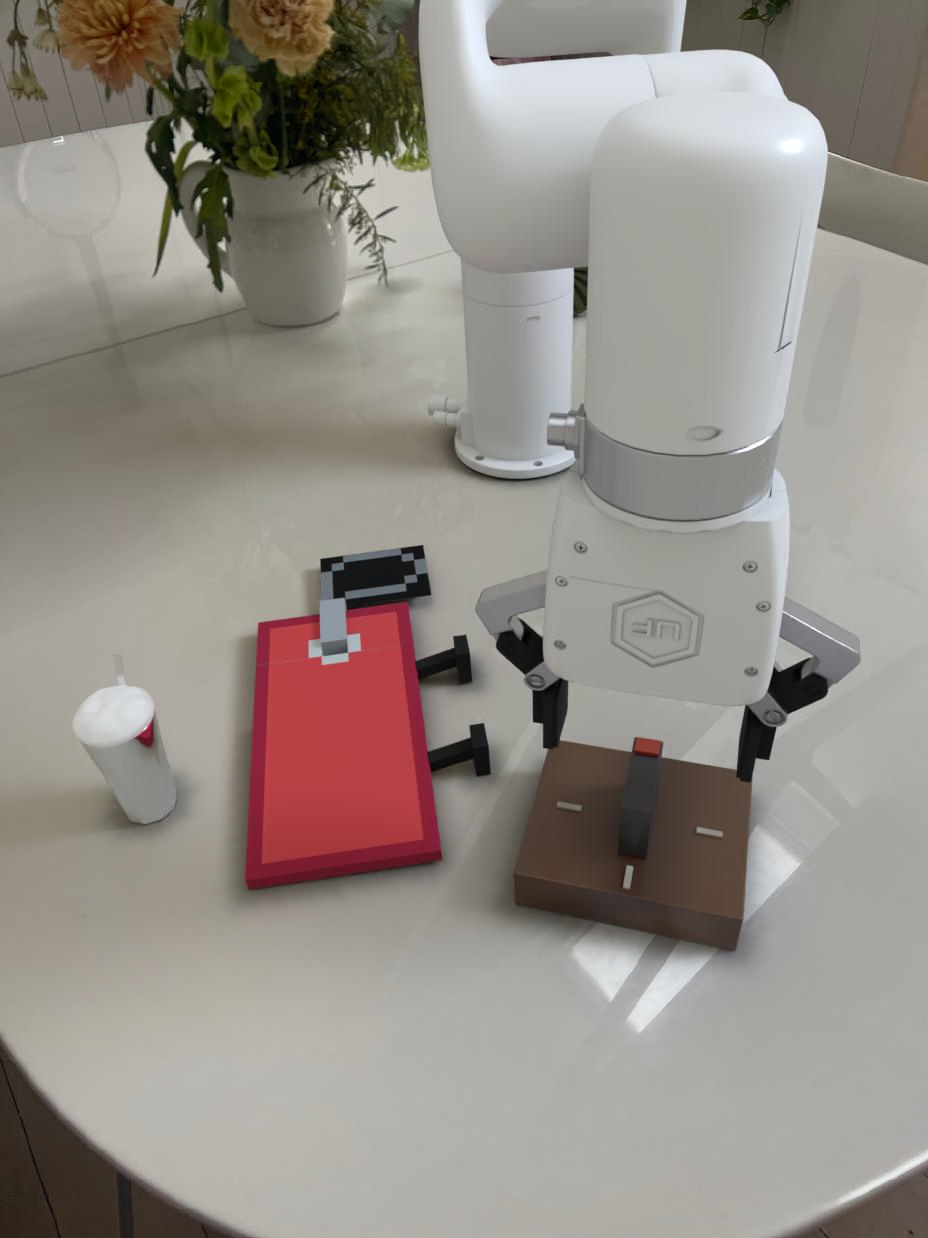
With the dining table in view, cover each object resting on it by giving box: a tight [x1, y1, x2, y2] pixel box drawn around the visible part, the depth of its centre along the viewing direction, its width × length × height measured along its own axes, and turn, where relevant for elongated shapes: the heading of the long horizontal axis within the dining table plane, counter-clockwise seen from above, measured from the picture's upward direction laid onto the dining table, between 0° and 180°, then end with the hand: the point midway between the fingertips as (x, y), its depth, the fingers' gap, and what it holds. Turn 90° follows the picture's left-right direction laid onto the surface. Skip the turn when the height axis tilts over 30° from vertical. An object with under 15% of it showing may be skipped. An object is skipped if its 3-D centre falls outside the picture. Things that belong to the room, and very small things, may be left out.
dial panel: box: [513, 739, 754, 952], centre depth 54 cm, size 12×10×3 cm
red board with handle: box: [244, 544, 492, 890], centre depth 65 cm, size 30×3×15 cm
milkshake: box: [71, 653, 178, 825], centre depth 57 cm, size 4×5×10 cm
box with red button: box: [617, 736, 664, 858], centre depth 51 cm, size 5×2×4 cm, turn 164°
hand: (647, 745), depth 48 cm, fingers open, 9 cm apart
